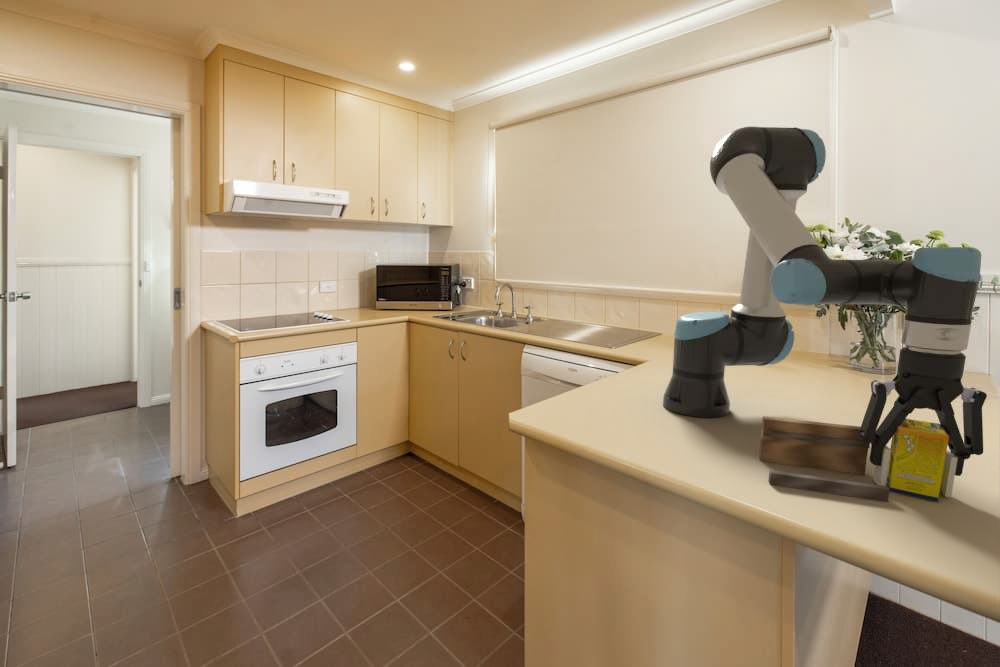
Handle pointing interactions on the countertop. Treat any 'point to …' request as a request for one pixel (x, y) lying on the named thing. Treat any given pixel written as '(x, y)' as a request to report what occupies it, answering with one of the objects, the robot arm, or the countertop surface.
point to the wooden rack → (817, 456)
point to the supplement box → (917, 459)
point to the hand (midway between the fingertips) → (910, 488)
